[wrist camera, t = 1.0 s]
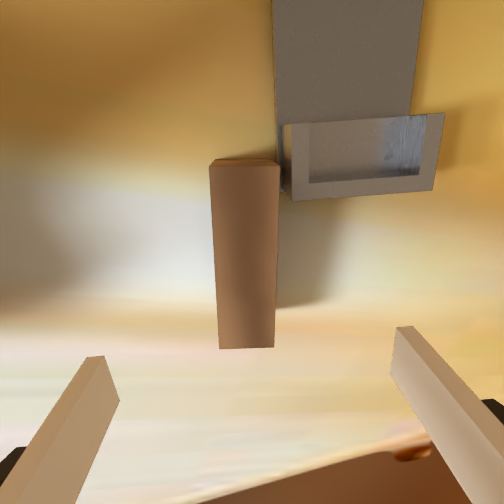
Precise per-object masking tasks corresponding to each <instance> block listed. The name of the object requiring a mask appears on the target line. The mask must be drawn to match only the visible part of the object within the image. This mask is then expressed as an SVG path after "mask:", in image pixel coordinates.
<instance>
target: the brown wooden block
mask: <svg viewBox="0 0 504 504" xmlns="http://www.w3.org/2000/svg"><path fill="white" fill-rule="evenodd" d="M209 175H210V193H211V211H212V229H213V246H214V264H215V282H216V299H217V317H218V335H219V349H240V348H270V347H274V335H275V305H276V275H277V245H278V214H279V184H280V166H279V165H278V164H277V163H275V162H274V161H273V160H272V159H215V160H214V161H213V163H212V164H211V165H210V166H209Z"/></svg>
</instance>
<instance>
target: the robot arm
mask: <svg viewBox="0 0 504 504" xmlns="http://www.w3.org/2000/svg"><path fill="white" fill-rule="evenodd" d="M390 375H391V377H392V378H393V380H394V381H395V383H396V384H397V386H398V388H399V389H400V391H401V392H402V394H403V395H404V397H405V399H406V400H407V402H408V403H409V405H410V407H411V408H412V410H413V411H414V413H415V414H416V416H417V418H418V419H419V421H420V422H421V424H422V425H423V427H424V429H425V430H426V432H427V433H428V435H429V436H430V438H431V440H432V441H433V443H434V444H435V446H436V447H437V449H438V451H439V452H440V454H441V455H442V457H443V458H444V460H445V462H446V463H447V465H448V466H449V468H450V469H451V471H452V473H453V474H454V476H455V477H456V479H457V480H458V482H459V484H460V485H461V487H462V488H463V490H464V491H465V493H466V495H467V496H468V498H469V499H470V501H471V503H472V504H504V406H503V405H502V404H500V403H499V402H497V401H496V400H494V399H485V400H480V399H479V398H478V397H477V396H476V395H475V393H474V392H473V391H472V390H471V389H470V388H469V387H468V386H467V385H466V384H465V382H464V381H463V380H462V379H461V378H460V377H459V376H458V375H457V374H456V373H455V372H454V370H453V369H452V368H451V367H450V366H449V365H448V364H447V363H446V362H445V361H444V359H443V358H442V357H441V356H440V355H439V354H438V353H437V352H436V351H435V350H434V348H433V347H432V346H431V345H430V344H429V343H428V342H427V341H426V340H425V339H424V338H423V336H422V335H421V334H420V333H419V332H418V331H417V330H416V329H415V328H414V327H413V326H407V327H397V328H396V332H395V340H394V347H393V354H392V362H391V369H390ZM119 401H120V400H119V397H118V394H117V391H116V388H115V385H114V383H113V380H112V377H111V374H110V371H109V368H108V365H107V362H106V360H105V357H104V356H96V357H87V358H86V359H85V361H84V362H83V364H82V365H81V367H80V368H79V370H78V371H77V373H76V374H75V376H74V377H73V379H72V380H71V382H70V383H69V385H68V386H67V388H66V389H65V391H64V392H63V394H62V395H61V397H60V398H59V400H58V401H57V403H56V404H55V406H54V407H53V409H52V410H51V412H50V413H49V415H48V416H47V418H46V419H45V421H44V422H43V424H42V425H41V427H40V428H39V430H38V431H37V433H36V434H35V436H34V437H33V439H32V440H31V442H30V443H29V445H28V446H27V447H17V448H15V449H14V450H13V451H12V452H11V453H10V454H9V455H8V456H7V457H6V458H5V459H4V460H3V461H1V462H0V504H75V502H76V500H77V498H78V496H79V493H80V491H81V489H82V486H83V484H84V482H85V479H86V477H87V475H88V473H89V470H90V468H91V466H92V463H93V461H94V459H95V457H96V454H97V452H98V450H99V447H100V445H101V443H102V440H103V438H104V436H105V434H106V431H107V429H108V427H109V424H110V422H111V420H112V417H113V415H114V413H115V411H116V408H117V406H118V404H119Z"/></svg>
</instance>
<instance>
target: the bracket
mask: <svg viewBox="0 0 504 504" xmlns="http://www.w3.org/2000/svg"><path fill="white" fill-rule="evenodd" d="M423 2H424V0H271V4H272V33H273V63H274V93H275V122H276V152H277V164H278V165H279V166H280V184H279V193H282V192H285V193H286V194H287V195H288V197H289V198H290V199H291V200H292V201H303V200H316V199H329V198H342V197H355V196H368V195H381V194H393V193H406V192H419V191H432V189H433V183H434V177H435V171H436V166H437V160H438V154H439V148H440V142H441V136H442V130H443V124H444V118H445V113H434V114H422V115H412V116H409V113H410V105H411V97H412V89H413V81H414V73H415V65H416V57H417V50H418V42H419V34H420V26H421V18H422V10H423Z"/></svg>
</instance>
